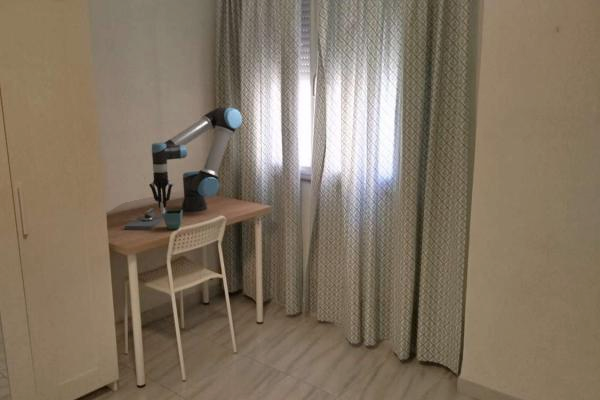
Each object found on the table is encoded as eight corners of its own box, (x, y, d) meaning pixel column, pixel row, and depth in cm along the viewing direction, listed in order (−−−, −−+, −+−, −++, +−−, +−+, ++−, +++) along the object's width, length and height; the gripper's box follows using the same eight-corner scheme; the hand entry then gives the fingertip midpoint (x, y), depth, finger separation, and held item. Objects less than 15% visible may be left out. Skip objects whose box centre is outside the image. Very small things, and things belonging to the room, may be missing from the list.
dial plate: (163, 219, 284) (163, 216, 283) (151, 229, 264) (150, 225, 264) (138, 219, 284) (138, 215, 284) (125, 229, 265) (124, 225, 264)
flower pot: (167, 226, 271) (166, 209, 269) (183, 225, 272) (182, 209, 270) (164, 230, 263) (163, 214, 261) (181, 230, 264) (180, 213, 262)
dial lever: (151, 221, 273) (150, 213, 272) (140, 221, 273) (139, 213, 272) (158, 215, 284) (157, 208, 283) (147, 215, 284) (147, 208, 283)
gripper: (174, 170, 278) (176, 211, 283) (151, 170, 279) (153, 211, 284) (170, 172, 271) (172, 215, 276) (146, 172, 272) (149, 214, 277)
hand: (163, 213), depth 280 cm, fingers closed
